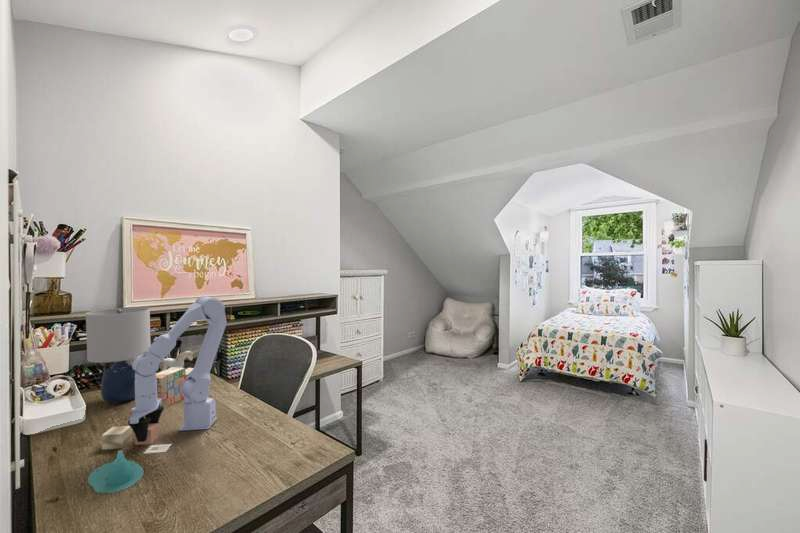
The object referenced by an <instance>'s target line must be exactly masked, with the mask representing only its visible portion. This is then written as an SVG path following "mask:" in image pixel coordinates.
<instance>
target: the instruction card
mask: <svg viewBox="0 0 800 533" xmlns="http://www.w3.org/2000/svg"><path fill="white" fill-rule="evenodd" d="M172 444H173V443H167V444H165V443H163V444H153V445H152V444H150V446H149V447H148V448H147V449H146V450H145V451H144V452H143V453H142V454H143V455H144V454H145V455H146V454H156V453H157V454H160V453H161V454H162V453H166V452H167V451H168V450H169V449H170V448H171V447H172V446H171V445H172ZM170 446H171V447H170ZM169 447H170V448H169Z"/></svg>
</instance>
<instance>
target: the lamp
mask: <svg viewBox="0 0 800 533" xmlns="http://www.w3.org/2000/svg"><path fill="white" fill-rule="evenodd" d="M150 314H151V311H150V308H149V307H146V306H145V307H144V306H143V307H141V306H140V307H139V306H138V307H137V306H134V307H133V306H132V307H129V306H128V307H114V308H106V309H97V310H92V311H91V310H90V311H88V312H87V311H86V312H85V327H86V328H85V330H86V332H85V333H86V358H87V359H86V360H87V362H89V363H97V364H98V363H113V365H112V366H110V367H108V368H107V369H106V370H105V371H104V373H103V374H102V376H101V377H102V378H101V383H100V393H101V397H102V399H103V401H104V402H106V403H108V404H121V403H127V402H130V401H132V400H133V399H135V372H136V371H134V370H133V368H132V364H129V362H128V361H129V360H135V359H136V358H137V357H138V356H141V355H143V354H142V352H143V351H146V350H147V349H148V348H149V347H150V346H151V344H152V343H151V315H150ZM147 351H148V350H147ZM149 352H150V351H149Z"/></svg>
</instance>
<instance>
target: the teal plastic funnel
mask: <svg viewBox="0 0 800 533" xmlns="http://www.w3.org/2000/svg"><path fill="white" fill-rule="evenodd" d="M144 473H145V472H144V468H143V467H142V466H141V465H140V464H138V463H137V462H136V461H133V460H127V458H126V457H125V454H124V451H123V450H121V449H120V450H118V451H117V455H116V458H115V459H114V460H112V461H111V462H106V463H104V464H103V465H101V466H99V467H97V468H95V469H94V470H92V471H91V473H89V475H88V479H87V482H88V484H89V485H90V486H91V487H93V489H94V491H95V492H97V493H100V494H113V493H116V492H118V491H123V490H125V489H127V488H130V487H132V486H133V485H135V484H137V483H138V482H139V481H140V479H141V478H143V476H144Z"/></svg>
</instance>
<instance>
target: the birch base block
mask: <svg viewBox="0 0 800 533" xmlns="http://www.w3.org/2000/svg"><path fill="white" fill-rule="evenodd" d="M132 440H133V429H132V428H131V427H130V426H129V425H122V426H121V425H120V426H112V427H110V428H109V429H107V431H106V432H104V433H103V434H102V435H101V450H113V449H122V448H124V447H126V446H127V444H129V443H130V442H131V441H132Z"/></svg>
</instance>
